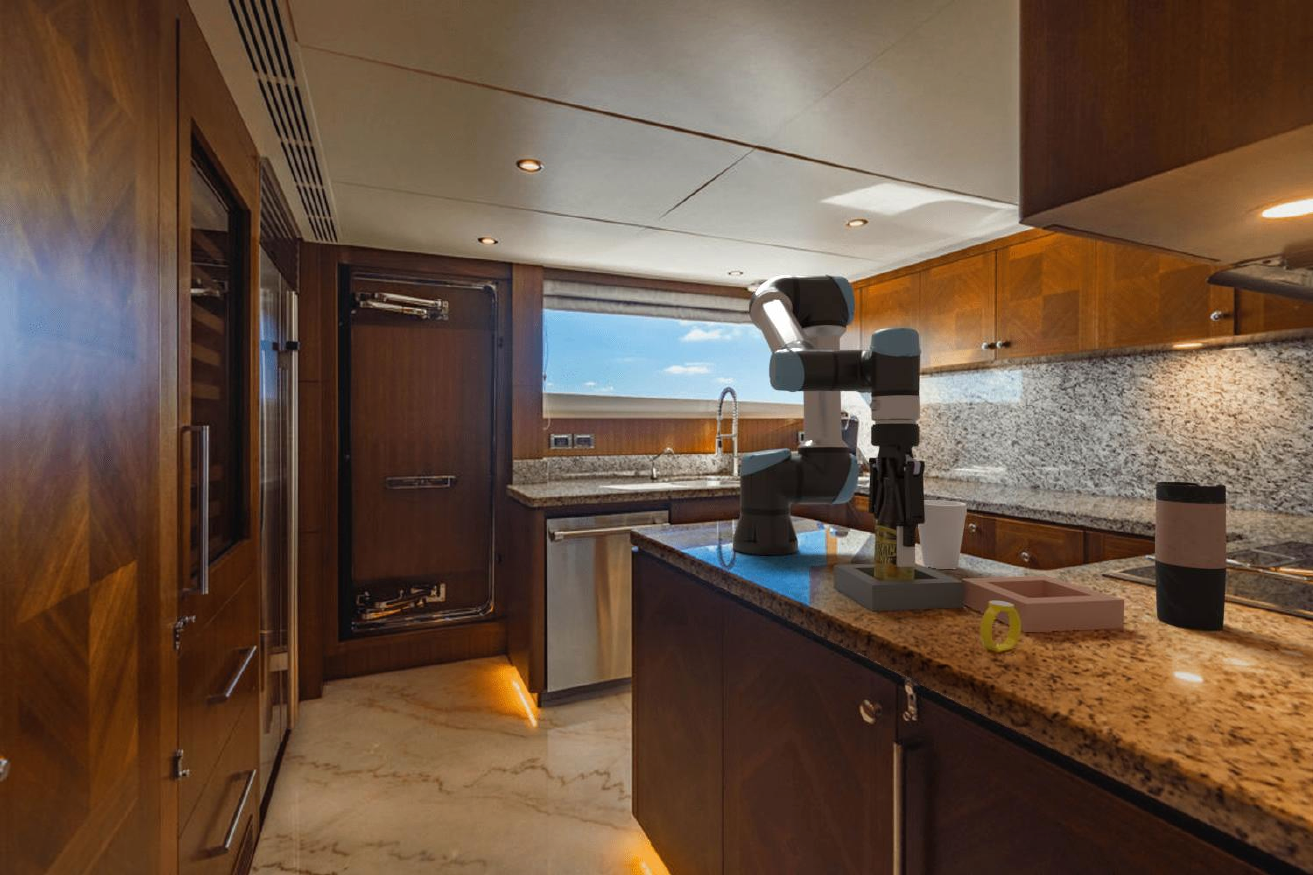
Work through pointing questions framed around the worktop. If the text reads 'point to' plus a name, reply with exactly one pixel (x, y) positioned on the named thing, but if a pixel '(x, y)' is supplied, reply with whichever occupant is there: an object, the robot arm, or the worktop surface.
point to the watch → (988, 622)
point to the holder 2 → (1046, 603)
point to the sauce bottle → (888, 540)
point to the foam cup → (942, 533)
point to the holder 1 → (898, 589)
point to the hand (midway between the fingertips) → (894, 561)
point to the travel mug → (1190, 555)
